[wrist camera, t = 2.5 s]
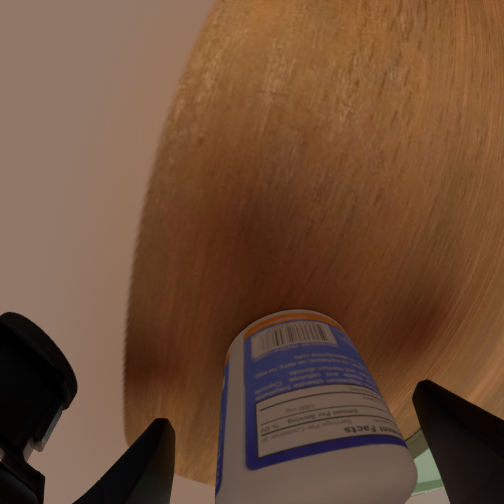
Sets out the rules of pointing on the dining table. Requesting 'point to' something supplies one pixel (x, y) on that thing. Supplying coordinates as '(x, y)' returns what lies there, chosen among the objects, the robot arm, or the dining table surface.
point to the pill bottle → (306, 420)
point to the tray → (424, 465)
